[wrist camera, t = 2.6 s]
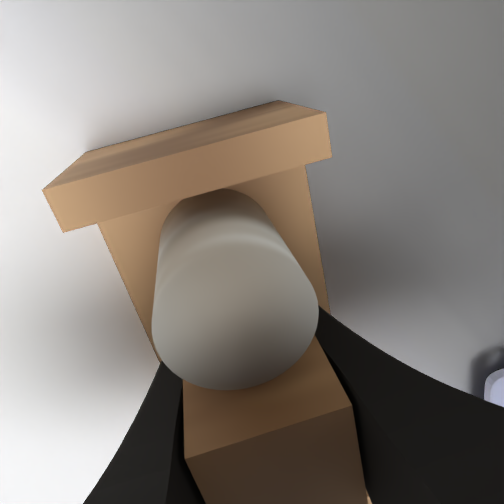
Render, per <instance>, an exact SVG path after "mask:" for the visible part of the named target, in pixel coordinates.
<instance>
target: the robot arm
mask: <svg viewBox="0 0 504 504" xmlns="http://www.w3.org/2000/svg"><path fill="white" fill-rule="evenodd" d="M318 308H319V315H318V323H317V328H316V331H315V336H316V338H317V340H318V342H319V344H320V346H321V348H322V349H323V351H324V353H325V355H326V357H327V359H328V361H329V363H330V364H331V366H332V368H333V370H334V372H335V374H336V376H337V378H338V380H339V381H340V383H341V385H342V387H343V389H344V391H345V393H346V395H347V396H348V398H349V400H350V402H351V404H352V407H353V414H354V420H355V426H356V432H357V438H358V445H359V451H360V457H361V463H362V469H363V475H364V482H365V488H366V490H367V493H368V495H369V498H370V500H371V502H372V504H504V368H503V369H500V370H497V371H495V372H493V373H492V374H490V375H489V376H488V378H487V379H486V382H485V393H484V400H483V399H481V398H478V397H476V396H473V395H471V394H468V393H466V392H463V391H461V390H458V389H456V388H453V387H451V386H449V385H446V384H444V383H442V382H440V381H437V380H435V379H433V378H431V377H429V376H427V375H425V374H423V373H421V372H419V371H417V370H415V369H413V368H411V367H410V366H408V365H406V364H404V363H402V362H401V361H399V360H397V359H395V358H394V357H392V356H390V355H389V354H387V353H385V352H383V351H382V350H380V349H379V348H377V347H375V346H374V345H372V344H371V343H369V342H368V341H366V340H365V339H363V338H362V337H360V336H359V335H357V334H356V333H354V332H353V331H351V330H350V329H349V328H347V327H346V326H345V325H343V324H342V323H341V322H339V321H338V320H336V319H335V318H334V317H333V316H331V315H330V314H329V313H328V312H326V311H325V310H324V309H323V308H321V307H320V306H319V305H318ZM83 504H206V503H205V501H204V498H203V496H202V494H201V492H200V490H199V488H198V486H197V484H196V482H195V480H194V478H193V476H192V474H191V471H190V469H189V467H188V465H187V463H186V461H185V457H184V411H183V379H182V378H180V377H179V376H177V375H176V374H175V373H173V372H172V371H171V370H170V369H169V368H168V367H167V366H166V365H165V363H164V362H163V361H161V363H160V365H159V368H158V370H157V373H156V375H155V377H154V379H153V382H152V384H151V386H150V388H149V391H148V393H147V395H146V397H145V399H144V401H143V403H142V405H141V407H140V409H139V411H138V413H137V415H136V417H135V419H134V421H133V423H132V425H131V427H130V429H129V430H128V432H127V434H126V436H125V438H124V440H123V442H122V443H121V445H120V447H119V449H118V450H117V452H116V454H115V455H114V457H113V459H112V460H111V462H110V464H109V465H108V467H107V469H106V470H105V472H104V473H103V475H102V476H101V478H100V479H99V481H98V483H97V484H96V486H95V487H94V489H93V490H92V491H91V493H90V494H89V496H88V497H87V499H86V500H85V501H84V503H83Z"/></svg>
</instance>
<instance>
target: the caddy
mask: <svg viewBox="0 0 504 504" xmlns="http://www.w3.org/2000/svg"><path fill="white" fill-rule="evenodd" d="M331 157H332V152H331V145H330V138H329V131H328V123H327V116H326V112H323V111H319V110H315V109H311V108H307V107H303V106H299V105H295V104H291V103H287V102H283V101H279V100H278V101H274V102H270V103H266V104H263V105H259V106H255V107H252V108H248V109H244V110H240V111H237V112H233V113H229V114H226V115H222V116H218V117H215V118H211V119H207V120H203V121H200V122H196V123H192V124H189V125H185V126H181V127H177V128H174V129H170V130H166V131H163V132H159V133H155V134H151V135H148V136H144V137H140V138H137V139H133V140H129V141H125V142H122V143H118V144H114V145H111V146H107V147H103V148H99V149H96V150H92V151H88V152H85V153H84V154H83V155H82V156H81V157H80V158H78V159H77V160H76V161H75V162H74V163H73V164H72V165H70V166H69V167H68V168H67V169H66V170H65V171H63V172H62V173H61V174H60V175H59V176H58V177H56V178H55V179H54V180H53V181H52V182H51V183H49V184H48V185H47V186H46V187H45V188H44V189H43V190H42V191H43V193H44V195H45V197H46V199H47V201H48V203H49V205H50V207H51V209H52V211H53V213H54V215H55V217H56V219H57V221H58V224H59V226H60V228H61V230H62V232H63V233H64V232H68V231H71V230H75V229H78V228H82V227H85V226H89V225H93V224H96V223H97V224H98V226H99V228H100V231H101V233H102V235H103V237H104V240H105V242H106V244H107V246H108V249H109V251H110V253H111V255H112V257H113V260H114V262H115V264H116V266H117V269H118V271H119V273H120V275H121V278H122V280H123V282H124V284H125V286H126V289H127V291H128V293H129V295H130V298H131V300H132V302H133V304H134V307H135V309H136V311H137V313H138V315H139V318H140V320H141V322H142V324H143V327H144V329H145V331H146V333H147V336H148V338H149V340H150V342H151V344H152V347H153V349H154V351H155V353H156V356H157V358H158V360H159V362H160V363H161V361H163V362H164V363H165V365H166V366H167V367H168V368H169V369H170V370H171V371H172V372H173V373H175V374H176V375H177V376H179V377H180V378H182V379H183V411H184V457H185V461H186V463H187V465H188V467H189V469H190V471H191V474H192V476H193V478H194V480H195V482H196V484H197V486H198V488H199V490H200V492H201V494H202V496H203V498H204V501H205V503H206V504H372V502H371V500H370V498H369V495H368V493H367V490H366V488H365V482H364V475H363V469H362V463H361V457H360V451H359V445H358V438H357V432H356V426H355V420H354V414H353V407H352V404H351V402H350V400H349V398H348V396H347V395H346V393H345V391H344V389H343V387H342V385H341V383H340V381H339V380H338V378H337V376H336V374H335V372H334V370H333V368H332V366H331V364H330V363H329V361H328V359H327V357H326V355H325V353H324V351H323V349H322V348H321V346H320V344H319V342H318V340H317V338H316V336H315V331H316V328H317V323H318V315H319V308H318V305H319V306H320V307H321V308H323V309H324V310H325V311H326V312H328V313H329V314H330V308H329V302H328V296H327V290H326V285H325V279H324V273H323V267H322V261H321V255H320V250H319V244H318V238H317V232H316V226H315V221H314V215H313V209H312V203H311V197H310V191H309V186H308V180H307V174H306V168H305V165H306V164H310V163H313V162H317V161H320V160H324V159H327V158H331ZM330 315H331V314H330Z"/></svg>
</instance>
